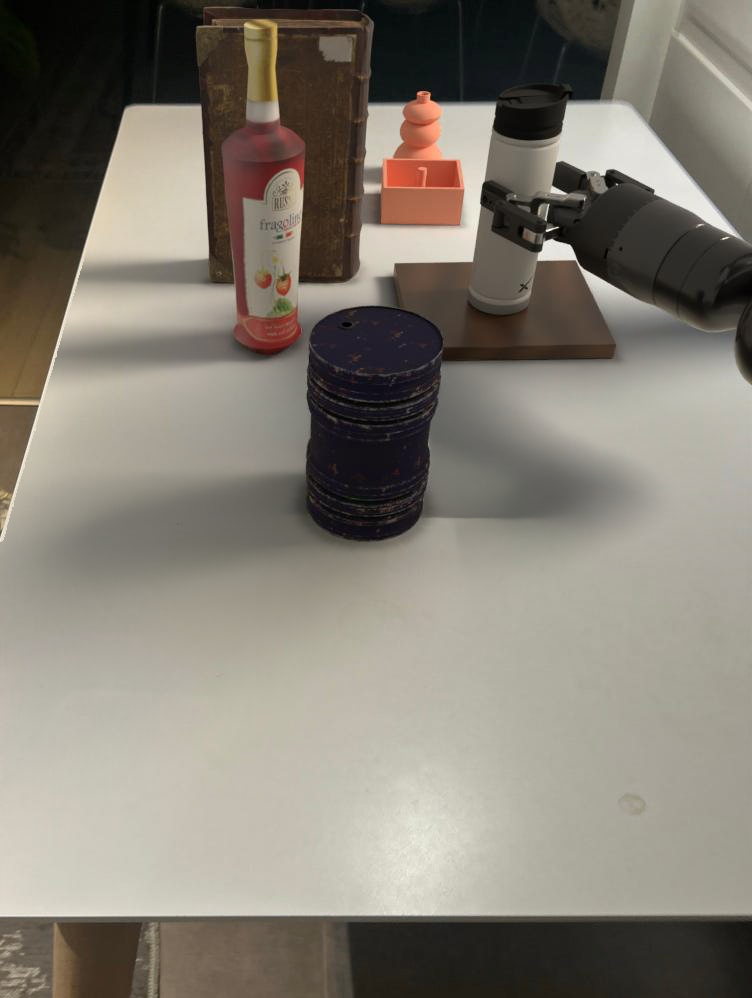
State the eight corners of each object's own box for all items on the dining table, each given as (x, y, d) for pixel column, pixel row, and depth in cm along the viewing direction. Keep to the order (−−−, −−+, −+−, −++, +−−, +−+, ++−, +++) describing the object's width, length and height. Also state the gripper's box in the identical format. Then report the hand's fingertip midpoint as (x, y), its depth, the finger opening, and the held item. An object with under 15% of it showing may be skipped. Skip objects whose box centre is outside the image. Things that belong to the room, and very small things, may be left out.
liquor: (257, 369, 93) (246, 43, 73) (218, 338, 97) (197, 21, 77) (318, 347, 96) (324, 26, 75) (277, 317, 100) (273, 6, 80)
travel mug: (537, 315, 97) (581, 99, 82) (472, 316, 97) (504, 100, 82) (525, 286, 101) (565, 75, 86) (463, 287, 101) (492, 77, 86)
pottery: (459, 225, 115) (471, 137, 108) (381, 223, 115) (387, 136, 108) (451, 166, 127) (461, 85, 120) (380, 165, 128) (386, 84, 120)
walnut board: (573, 272, 106) (576, 259, 105) (613, 358, 94) (617, 344, 93) (393, 275, 106) (394, 262, 105) (409, 361, 94) (411, 347, 93)
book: (362, 262, 108) (376, 6, 90) (357, 292, 104) (371, 28, 85) (218, 255, 110) (203, 2, 92) (206, 284, 105) (188, 24, 87)
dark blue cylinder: (449, 503, 79) (474, 338, 68) (369, 560, 74) (383, 392, 63) (359, 453, 84) (369, 291, 73) (280, 503, 79) (278, 338, 68)
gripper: (719, 182, 80) (585, 124, 90) (591, 221, 75) (464, 155, 85) (692, 269, 85) (568, 205, 95) (571, 310, 81) (454, 238, 90)
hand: (519, 181), depth 90 cm, fingers open, 8 cm apart
